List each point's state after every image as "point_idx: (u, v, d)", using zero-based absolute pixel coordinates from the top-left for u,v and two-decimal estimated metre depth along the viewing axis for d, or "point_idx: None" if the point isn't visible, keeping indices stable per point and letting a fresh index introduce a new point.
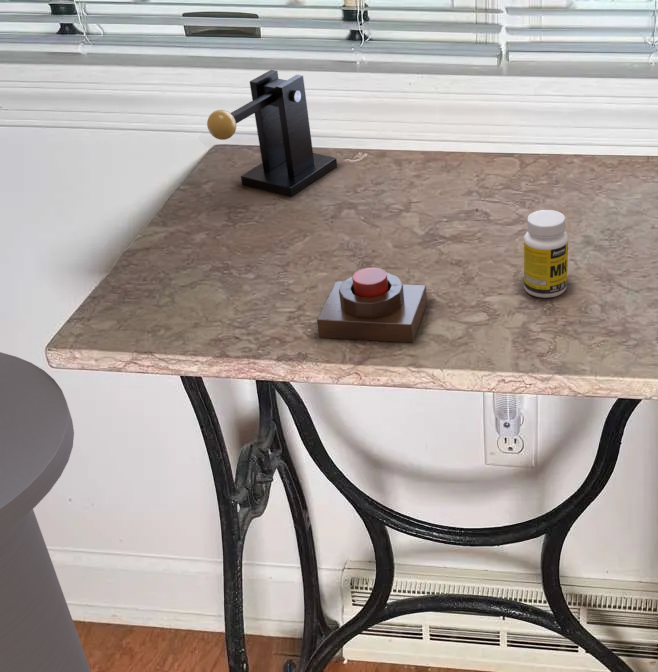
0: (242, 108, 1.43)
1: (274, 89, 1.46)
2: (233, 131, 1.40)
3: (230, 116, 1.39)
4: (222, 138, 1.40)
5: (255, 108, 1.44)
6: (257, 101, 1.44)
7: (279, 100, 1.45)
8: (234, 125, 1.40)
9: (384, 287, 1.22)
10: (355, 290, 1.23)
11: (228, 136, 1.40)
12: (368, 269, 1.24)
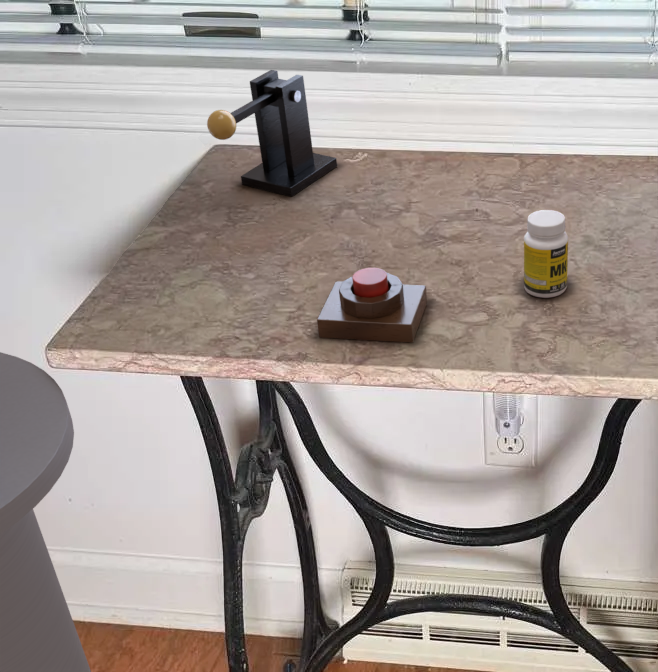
0: (242, 108, 1.43)
1: (274, 89, 1.46)
2: (233, 131, 1.40)
3: (230, 116, 1.39)
4: (222, 138, 1.40)
5: (255, 108, 1.44)
6: (257, 101, 1.44)
7: (279, 100, 1.45)
8: (234, 125, 1.40)
9: (384, 287, 1.22)
10: (355, 290, 1.23)
11: (228, 136, 1.40)
12: (368, 269, 1.24)
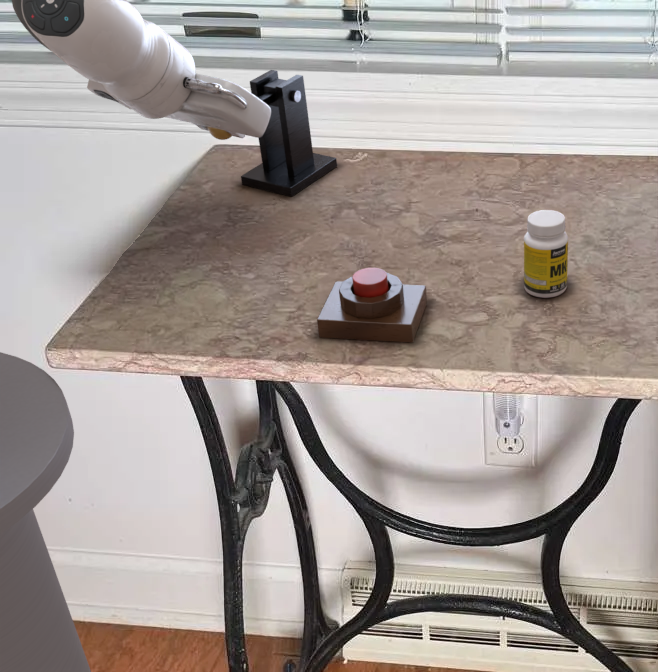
0: None
1: (274, 89, 1.46)
2: None
3: None
4: (222, 138, 1.40)
5: None
6: None
7: (279, 100, 1.45)
8: None
9: (384, 287, 1.22)
10: (355, 290, 1.23)
11: (228, 136, 1.40)
12: (368, 269, 1.24)
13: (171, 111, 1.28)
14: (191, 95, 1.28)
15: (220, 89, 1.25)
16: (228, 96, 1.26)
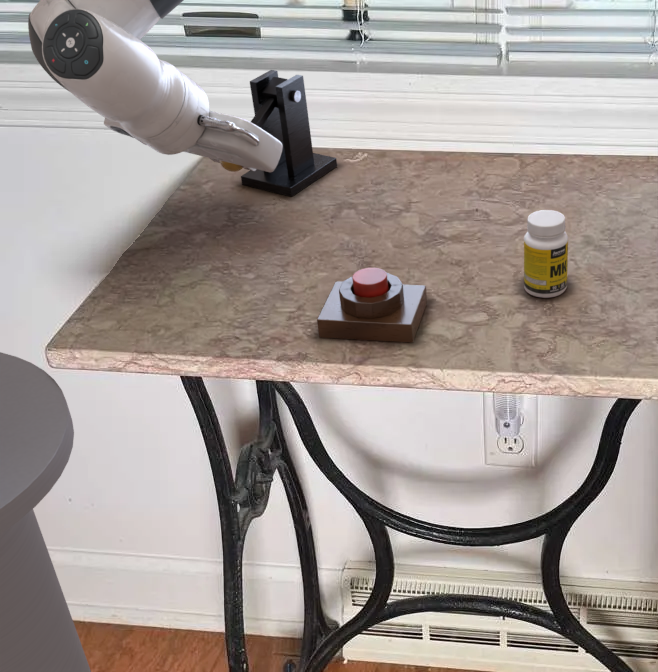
0: None
1: (273, 95, 1.46)
2: None
3: None
4: None
5: (260, 124, 1.46)
6: (261, 115, 1.45)
7: (279, 100, 1.45)
8: None
9: (384, 287, 1.22)
10: (355, 290, 1.23)
11: (241, 168, 1.44)
12: (368, 269, 1.24)
13: (186, 147, 1.32)
14: (205, 132, 1.32)
15: (233, 127, 1.29)
16: (242, 134, 1.29)
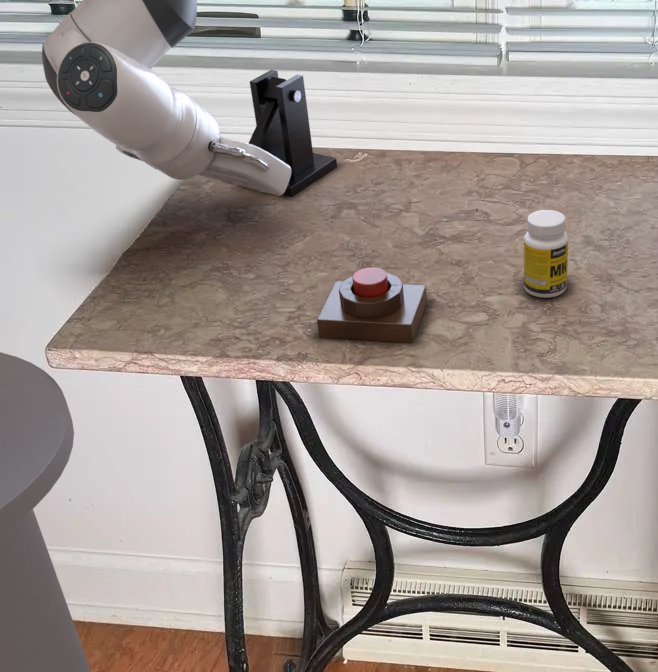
0: (253, 139, 1.46)
1: (274, 98, 1.46)
2: None
3: None
4: None
5: (264, 130, 1.47)
6: (264, 122, 1.46)
7: (279, 100, 1.45)
8: None
9: (384, 287, 1.22)
10: (355, 290, 1.23)
11: None
12: (368, 269, 1.24)
13: (197, 173, 1.35)
14: (216, 158, 1.35)
15: (244, 154, 1.32)
16: (252, 161, 1.32)
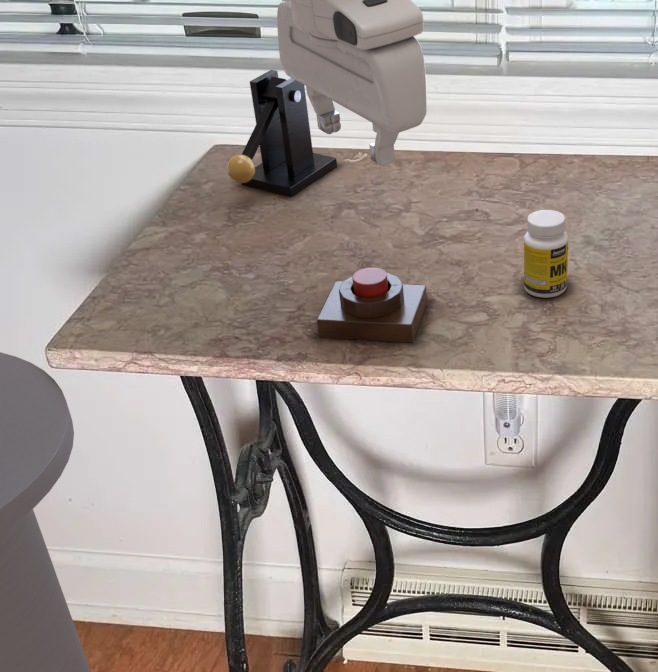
0: (252, 137, 1.46)
1: (274, 98, 1.46)
2: (253, 173, 1.46)
3: (246, 162, 1.44)
4: (246, 181, 1.46)
5: (264, 129, 1.46)
6: (263, 121, 1.46)
7: (279, 100, 1.45)
8: (252, 168, 1.45)
9: (384, 287, 1.22)
10: (355, 290, 1.23)
11: (251, 178, 1.46)
12: (368, 269, 1.24)
13: None
14: None
15: None
16: None
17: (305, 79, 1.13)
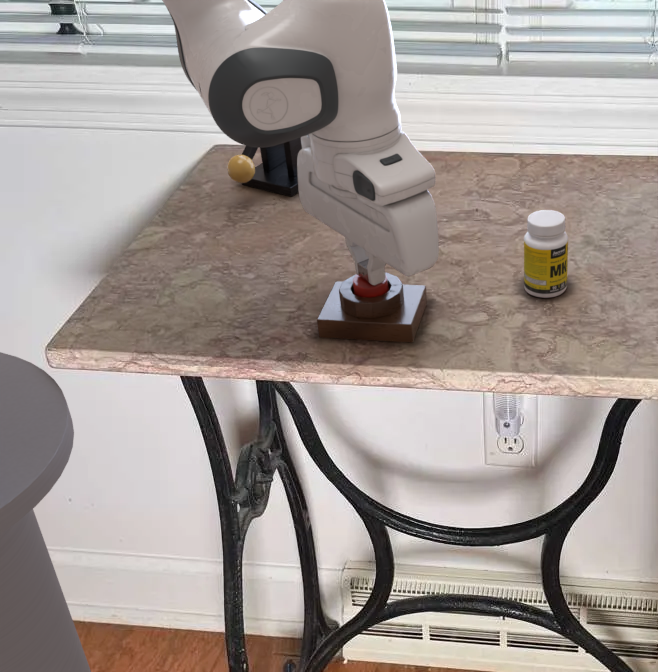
0: None
1: None
2: (253, 173, 1.46)
3: (246, 162, 1.44)
4: (246, 181, 1.46)
5: None
6: None
7: None
8: (252, 168, 1.45)
9: (384, 291, 1.23)
10: (355, 294, 1.23)
11: (251, 178, 1.46)
12: None
13: None
14: None
15: None
16: None
17: (323, 218, 1.22)
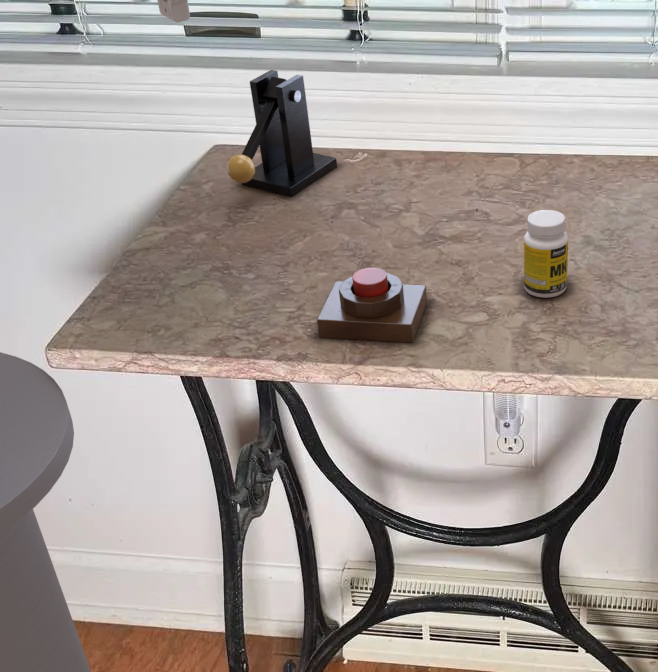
0: (252, 137, 1.46)
1: (274, 98, 1.46)
2: (253, 173, 1.46)
3: (246, 162, 1.44)
4: (246, 181, 1.46)
5: (264, 129, 1.46)
6: (263, 121, 1.46)
7: (279, 100, 1.45)
8: (252, 168, 1.45)
9: (384, 287, 1.22)
10: (355, 290, 1.23)
11: (251, 178, 1.46)
12: (368, 269, 1.24)
13: None
14: None
15: None
16: None
17: None
